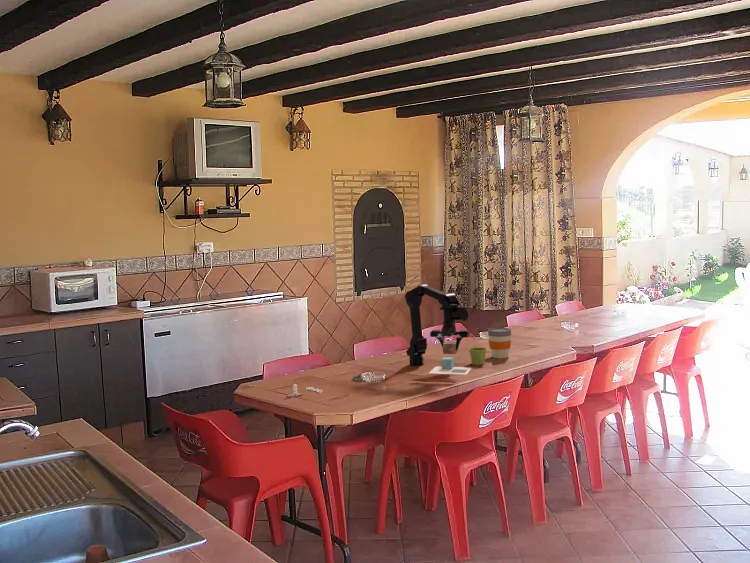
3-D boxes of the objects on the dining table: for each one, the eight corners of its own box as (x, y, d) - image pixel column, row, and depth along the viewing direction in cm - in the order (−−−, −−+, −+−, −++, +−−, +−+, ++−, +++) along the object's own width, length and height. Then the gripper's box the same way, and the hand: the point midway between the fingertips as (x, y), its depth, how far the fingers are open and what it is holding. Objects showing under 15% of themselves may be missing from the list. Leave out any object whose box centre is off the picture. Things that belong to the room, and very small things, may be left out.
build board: (428, 375, 375) (428, 373, 375) (435, 368, 390) (435, 366, 390) (466, 376, 369) (466, 374, 369) (472, 369, 384) (472, 367, 384)
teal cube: (442, 368, 383) (441, 359, 383) (444, 366, 388) (443, 357, 387) (451, 369, 382) (451, 359, 381) (453, 367, 386) (453, 357, 386)
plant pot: (477, 368, 387) (477, 351, 386) (465, 365, 394) (464, 349, 394) (491, 365, 392) (490, 348, 391) (478, 362, 400) (477, 346, 399)
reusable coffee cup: (496, 360, 405) (495, 332, 403) (484, 356, 416) (483, 329, 415) (516, 357, 409) (515, 330, 408) (503, 354, 421) (503, 327, 419)
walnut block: (443, 353, 374) (442, 343, 373) (445, 351, 380) (445, 341, 379) (455, 354, 372) (454, 343, 372) (457, 351, 378) (457, 341, 377)
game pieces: (294, 400, 337) (293, 387, 337) (277, 395, 347) (277, 382, 347) (371, 382, 366) (371, 370, 366) (354, 378, 376) (354, 366, 376)
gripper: (426, 321, 370) (427, 353, 371) (464, 321, 364) (465, 354, 365) (432, 318, 380) (433, 349, 382) (469, 318, 374) (470, 349, 376)
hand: (450, 350), depth 376 cm, fingers closed on walnut block, 6 cm apart
